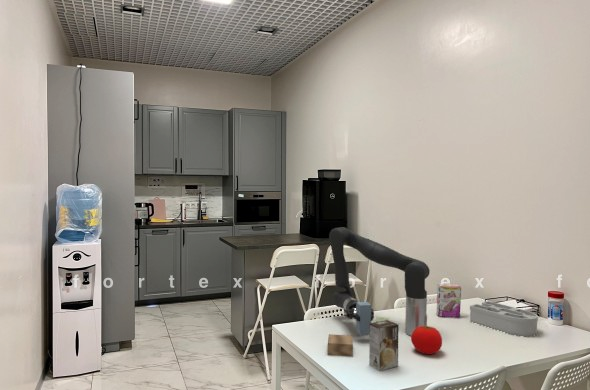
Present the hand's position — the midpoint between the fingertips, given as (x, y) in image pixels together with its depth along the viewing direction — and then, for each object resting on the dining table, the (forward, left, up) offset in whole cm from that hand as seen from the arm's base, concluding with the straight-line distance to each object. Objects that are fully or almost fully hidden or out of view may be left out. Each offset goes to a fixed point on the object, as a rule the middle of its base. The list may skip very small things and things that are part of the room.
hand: (365, 318), depth 181 cm
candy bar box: (-43, -47, -11) cm, 64 cm away
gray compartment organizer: (-67, -34, -11) cm, 76 cm away
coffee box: (-7, +21, -11) cm, 25 cm away
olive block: (-7, +7, -11) cm, 15 cm away
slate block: (+1, -2, -7) cm, 7 cm away
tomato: (-25, +4, -11) cm, 28 cm away
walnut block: (+10, +10, -11) cm, 18 cm away
